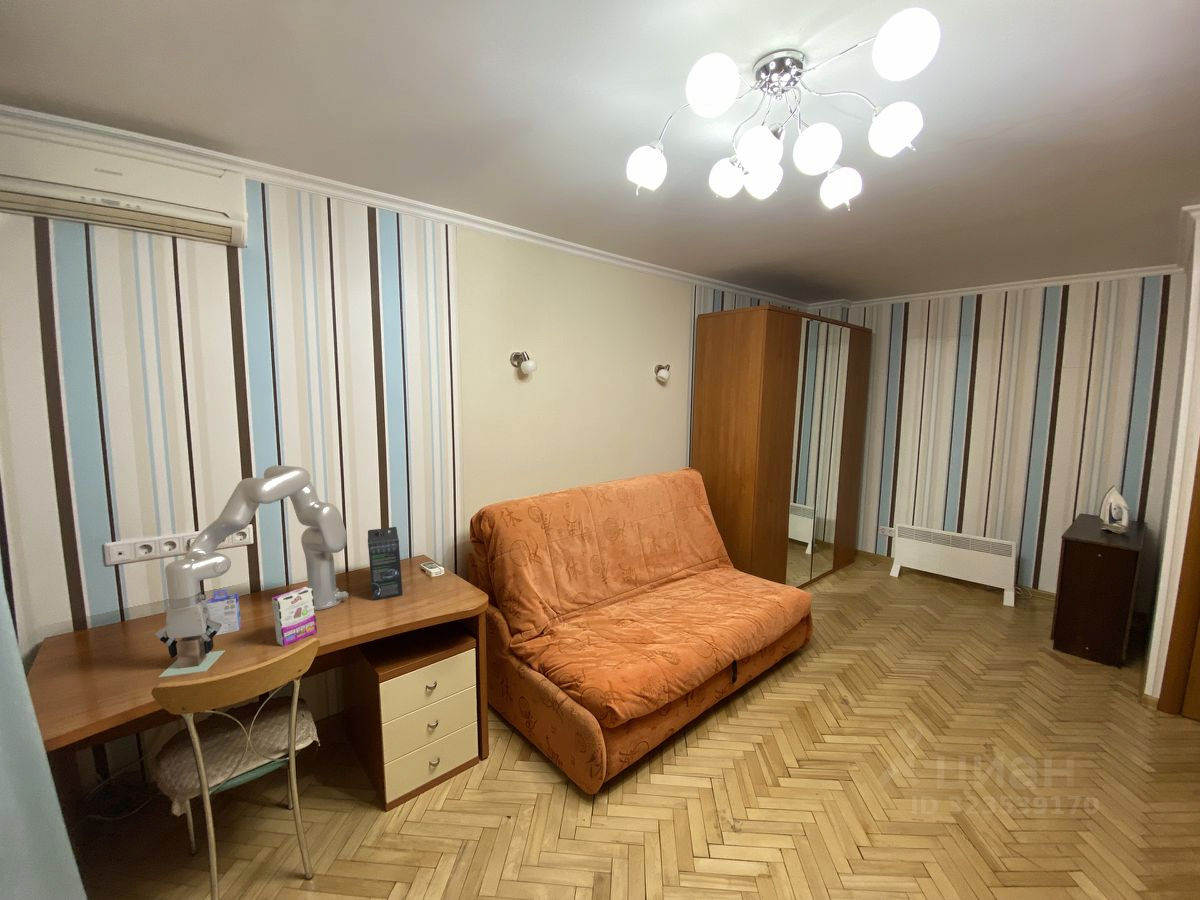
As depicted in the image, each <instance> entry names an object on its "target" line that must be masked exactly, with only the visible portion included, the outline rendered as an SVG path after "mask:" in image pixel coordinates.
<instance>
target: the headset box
mask: <svg viewBox="0 0 1200 900" xmlns="http://www.w3.org/2000/svg"><path fill="white" fill-rule="evenodd" d="M367 549H368V556H369V557H368V559H369V560H368V561H369V571H370V584H371V585H370V587H371V600H372V601H375V600H376V601H377V600H382V599H387V598H388V599H389V598H394V597H399V596H403V582H402V579H403V577H402V566H401V565H402V564H401V555H400V554H401V553H400V551H401V550H400V540H399V535H398V529H397V526H391V527H385V528H384V527H383V528H377V529H369V530H367Z"/></svg>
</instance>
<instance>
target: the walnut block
mask: <svg viewBox="0 0 1200 900" xmlns="http://www.w3.org/2000/svg"><path fill="white" fill-rule="evenodd" d="M205 641H206V640H205V639H204V638H203V637H201V636H193V637H185V638H180V640H179V641H177V642H178V643H177V644H176V647H177V659H178V662H179V669H180V668H188V667H195V666H199V665H200V664H201V663H202V662H203V661H204V660H205V659H206V658H207V654H206V653H205V649H204V642H205Z"/></svg>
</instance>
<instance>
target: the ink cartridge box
mask: <svg viewBox="0 0 1200 900" xmlns="http://www.w3.org/2000/svg"><path fill="white" fill-rule="evenodd" d="M220 593H224V594H220ZM204 600H205V601H206V604H207V606H208V609H209V612H210V616H211V620H212V621H215V622H217V623H220V624H222V626H221V628H220V630H219V631H218V633H217V634H216V635H215V636H218V635H223V634H229V633H232V632H233V633H235V632H238V631H240V629H241V627H242V619H241V618H242V617H241V609H240V608H241V607H240V599H239V593H238V592H237V593H232V594H227V589H223V590H222V589H221V590H216V591H213V596H212V597H211V598H206V599H204ZM209 630H210V631H211V632H213V630H214V628H213V627H211V628H210V629H209Z"/></svg>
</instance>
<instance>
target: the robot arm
mask: <svg viewBox="0 0 1200 900" xmlns="http://www.w3.org/2000/svg"><path fill="white" fill-rule="evenodd" d="M310 480H311V475H310V473H309V471H308V470H307V469H306V468H304V467H301V466H289V465H280V464H278V465H271V466H269V467H267V468H266V469H265V470H264V473H263V477H247V478H243V479H241V481H239V482H238V484H237V485H236V487H235V489H234V490H233V491H232V493H231V495H230V497H229V498H228V500H227V502H226V505H225V506H224V507H223V509H222V511H221V513H220V514H219V516H218V517H217V518H216V520H214V521H213V522H211V523H210V524H209V525H207V527H206V528H204V530H203V531H200V533H199V534H198V535H197V536H196V538H195V539H194V540H193V542H192V543H191V545H190V547H189V549H188V550H187V553H185V557H184V559H178V560H175V561H172V562H169V563H168V564H167V565H166V566H165V567H164V573H165V580H166V587H167V595H168V603H169V606H168V607H167V611H166V616H165V622H166V623H165V626H164V627H162V628H160V629H159V630H158V631H156V632H155V633H154V634H155V636H156V637H157V638H158V639H159V641H160V642H162V643H164V644H165V646H166V647H167V648H168V654H169V656H170V659H174V658H175V657H177V656H178V654H177V647H176V644H177V643H178V642H179V641H178V640H177V639H183V638H185V637H193V636H201V637H203V638H204V639H205V642H204V649H205V653H206V654H208V653H209V652H212V650H213V649H214V647H215V646H214V639H213V638H214V637H215V636H217V635H216V634H217V633H218V631H219V630H220V628H221V626H222V624H220V623H217V622H215V621H212V620H211V616H210V612H209V609H208V606H207V604H206V601H205V599H207V595H206V594H203V593H202V590H201V584H200V581H203V580H204V581H205V580H208V579H214V578H217V577H220V576H223V575H225V574H226V573H227V572H228V571H229V570H230V568H231V566H232V561H231V559H230V557H228V556H227V555H226V554H223V553H220V552H215V551H216V550H217V548H218V546H219V545H220V544H221V543H222V542H223V541H224V540H225V539H227V537H230V536H232V535H234V534H236V533H238V532H241V531H242V530H244V529H247V528H248V527H249V525H250V522H252V521H251V520H252V519H253V517H254V515H255V514H256V512H257V510H258V507H259V506H260V504H263V505H269V504H272V503H275V502H279V501H281V500H283V499H285V498H288V497H289V498H290V501H291V505H292V507H293V510H294V512H295V514H296V519H297V521H298V522H299V523H300V525H303V526H306V527H307V528H306V529H304V530H303V532H302V535H301V538H300V541H301V542H300V543H301V546H302V550H303V553H304V557H305V558H304V559H305V564H306V566H305V567H306V574H307V576H306V579H307V587H309V588H312V590H313V599H314V609H315V611H319V610H326V609H330V608H332V607H335V606H337V605H339V604H340V603H341V602H342V599H346V598H347V599H348V598H349V592H347V591H340V590H339V587H337V583H336V580H337V579H336V569H335V558H334V554H336V553H339V552H342V551H343V550H344V549H345V547H346V545H347V543H348V535H347V530H346V528H345V524H344V521H343V518H342V515H341V512H340V510H339V508H338V507H336V505H334V504H333V503H329V502H323V501H320V499H319V497H318V494H317V492H316V491H317V490H316V489H315V487H314V485H313V484H312V482H311V481H310ZM211 627H213V628H214V630H213V632H211V631H210V630H209V629H210V628H211Z"/></svg>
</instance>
